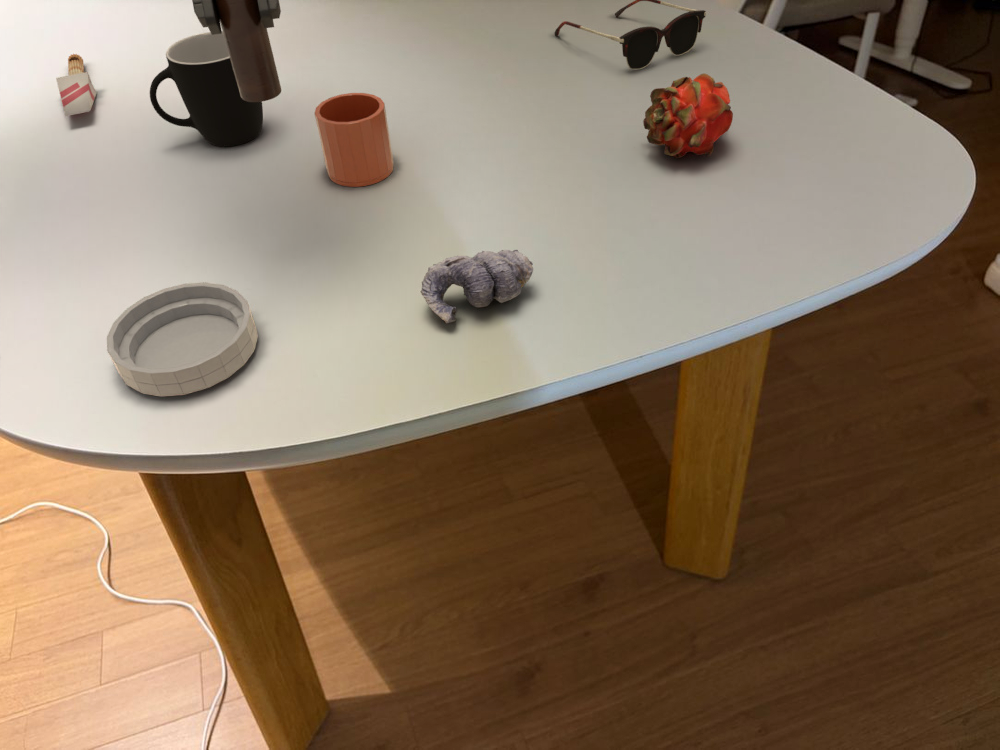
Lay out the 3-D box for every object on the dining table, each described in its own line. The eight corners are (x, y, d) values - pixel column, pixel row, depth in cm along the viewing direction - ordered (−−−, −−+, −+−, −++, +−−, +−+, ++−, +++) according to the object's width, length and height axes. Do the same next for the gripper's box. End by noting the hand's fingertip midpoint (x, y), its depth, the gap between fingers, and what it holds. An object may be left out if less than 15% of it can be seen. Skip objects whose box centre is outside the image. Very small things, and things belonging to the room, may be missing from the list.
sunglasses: (621, 76, 99) (622, 35, 96) (546, 45, 110) (544, 7, 107) (703, 48, 104) (707, 7, 101) (624, 20, 115) (624, -17, 112)
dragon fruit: (647, 186, 84) (697, 153, 91) (717, 157, 77) (765, 125, 85) (614, 109, 82) (668, 82, 90) (683, 73, 76) (735, 48, 83)
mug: (267, 110, 97) (244, 25, 90) (278, 142, 91) (255, 54, 84) (165, 130, 95) (134, 44, 88) (170, 165, 89) (136, 75, 82)
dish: (103, 405, 62) (87, 377, 59) (141, 315, 69) (129, 287, 67) (246, 395, 62) (235, 367, 60) (268, 305, 70) (259, 278, 67)
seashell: (431, 335, 68) (533, 298, 71) (445, 318, 62) (554, 279, 66) (406, 278, 68) (509, 244, 71) (418, 256, 63) (528, 220, 66)
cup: (325, 189, 83) (310, 126, 78) (331, 155, 88) (318, 94, 84) (392, 184, 83) (382, 121, 78) (394, 151, 88) (385, 90, 84)
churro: (54, 105, 94) (57, 52, 108) (64, 127, 96) (65, 73, 110) (89, 98, 95) (87, 47, 109) (98, 120, 97) (95, 67, 111)
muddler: (244, 105, 62) (205, -33, 55) (237, 89, 64) (199, -46, 57) (285, 96, 63) (252, -41, 56) (277, 81, 65) (244, -53, 58)
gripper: (76, -239, 54) (123, 13, 53) (289, -256, 55) (334, -12, 55) (116, -160, 61) (157, 61, 61) (302, -178, 63) (342, 37, 63)
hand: (241, 25), depth 58 cm, fingers closed on muddler, 3 cm apart
